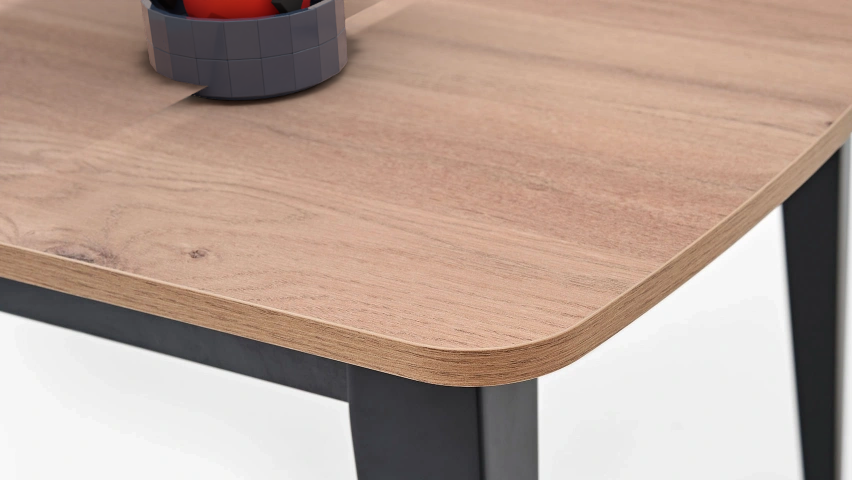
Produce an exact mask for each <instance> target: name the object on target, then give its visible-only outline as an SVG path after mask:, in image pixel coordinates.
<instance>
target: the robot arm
mask: <svg viewBox="0 0 852 480" xmlns="http://www.w3.org/2000/svg"><path fill="white" fill-rule="evenodd" d="M157 1H158V2H159V3H160V4H161V5H162V6H163V7H164V8H165V9H173V10H174V8H175V5H176V2H177V0H157ZM271 3H272V4H273V5H274V7H275V8H276V9H277V10H278V11H279V13H280V14H284V13H288V12H292V11H296V10H300V9H301V6H302V3H303V0H272V1H271Z"/></svg>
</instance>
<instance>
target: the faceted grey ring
mask: <svg viewBox="0 0 852 480" xmlns="http://www.w3.org/2000/svg"><path fill="white" fill-rule="evenodd" d="M140 6H141V12H142V20H143V27H144V32H145V33H144V34H145V39H146V40H145V41H146V46H147V54H148V59H149V64H150V66H151V67H152V68H153V70H154V71H155V72H156V73H157V74H159V75H161V76H163V77H165V78H167V79H170V80H172V81H174V82H180V83H185V84H190V85H195V86H201V87H203V86H204V87H203V88H202V89H200V90H197V91H196V92H193V93H191V94H190V96H193V97H196V98H203V99H210V100H218V101H252V100H262V99H263V100H264V99H270V98H271V99H272V98H277V97H282V96H287V95H293V94H296V93H299V92H302V91H305V90H308V89H310V88H313V87H315V86H317V85H320V84H321V83H323V82H325V81H327V80H328V79H331V78H332V77H334V76H337V74H339V73H340V72H341V71H342V70H343V68H344V67H345V66H346V65H347V64H348V45H347V44H348V43H347V28H346V16H345V15H346V13H345V0H310V7H307V8H304V9H300V10H296V11H292V12H288V13H284V14H277V15H270V16H263V17H257V18H238V19H209V18H193V17H189V15H188V14H187V12H186V9H185V6H184V3H183V0H177V2H176V5H175V8H174V10H173V9H165V8H164V7H163V6H162V5H161V4H160V3H159V2H158V1H157V0H140Z"/></svg>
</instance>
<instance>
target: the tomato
mask: <svg viewBox="0 0 852 480" xmlns="http://www.w3.org/2000/svg"><path fill="white" fill-rule="evenodd" d="M271 1H272V0H183V3H184V6H185V9H186V12H187V14H188V15H189V17H193V18H209V19H238V18H257V17H263V16H270V15H277V14H280V13H279V11H278V10H277V9H276V8H275V7H274V5H273V4H272V3H271ZM307 7H310V0H303V3H302V6H301V9H304V8H307Z"/></svg>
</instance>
